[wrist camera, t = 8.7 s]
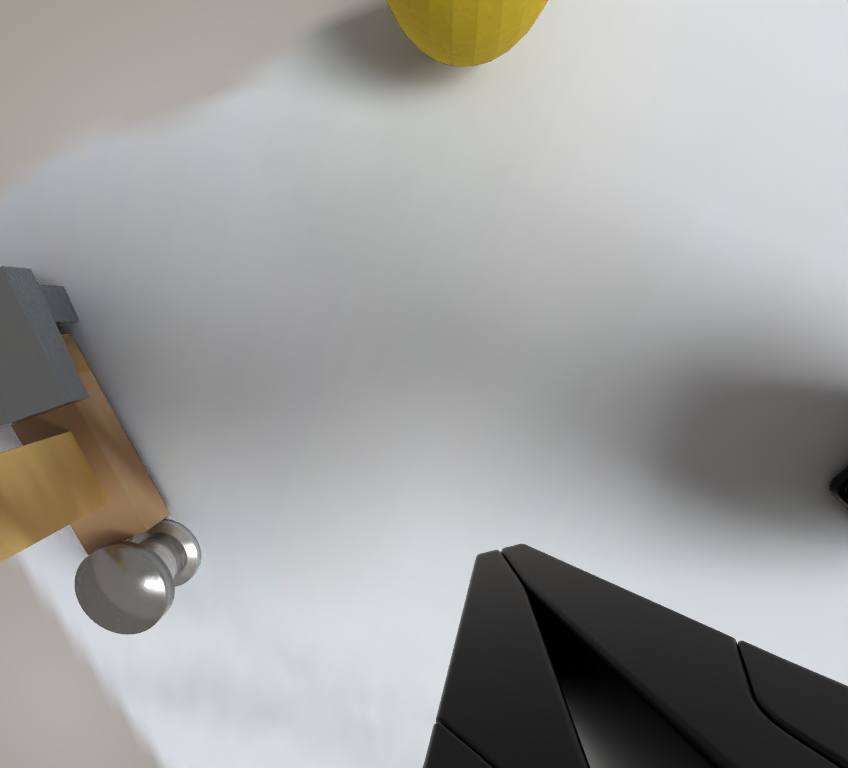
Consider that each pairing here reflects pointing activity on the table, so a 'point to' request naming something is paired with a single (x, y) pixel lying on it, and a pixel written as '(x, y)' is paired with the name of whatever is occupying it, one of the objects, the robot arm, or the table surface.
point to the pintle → (137, 577)
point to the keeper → (34, 348)
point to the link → (75, 476)
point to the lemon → (465, 27)
